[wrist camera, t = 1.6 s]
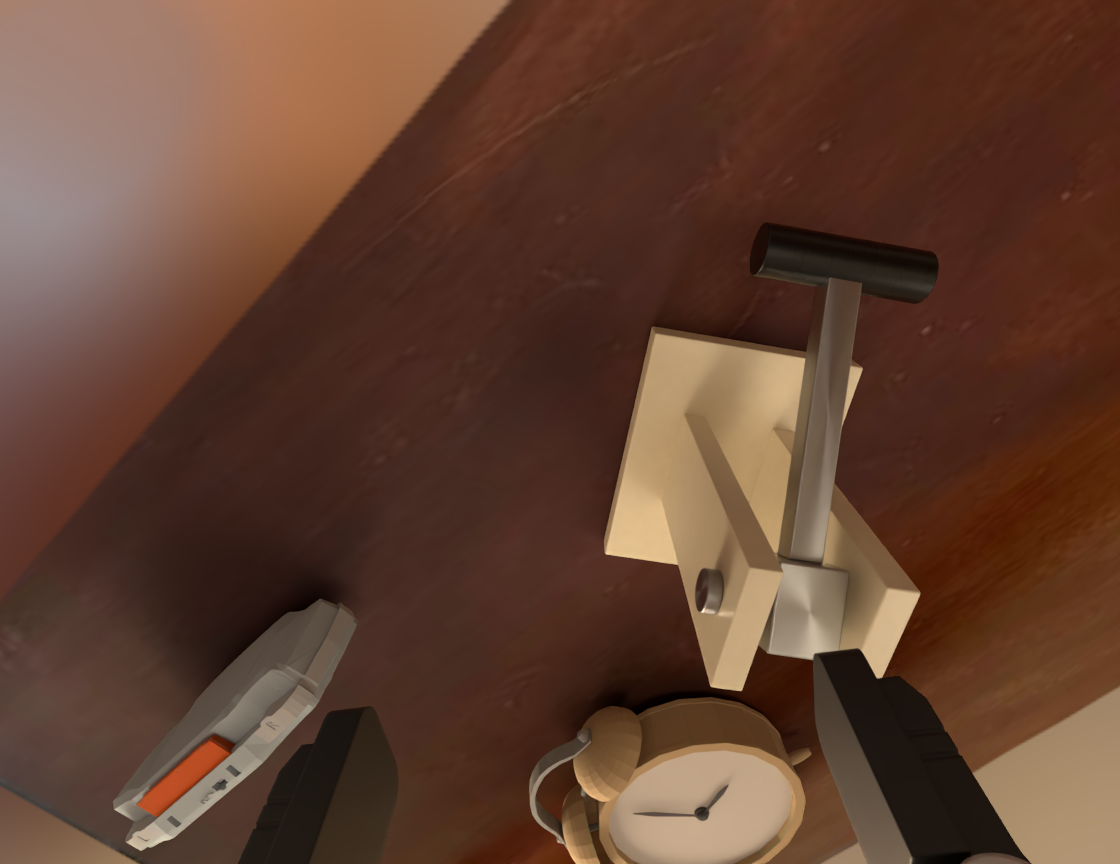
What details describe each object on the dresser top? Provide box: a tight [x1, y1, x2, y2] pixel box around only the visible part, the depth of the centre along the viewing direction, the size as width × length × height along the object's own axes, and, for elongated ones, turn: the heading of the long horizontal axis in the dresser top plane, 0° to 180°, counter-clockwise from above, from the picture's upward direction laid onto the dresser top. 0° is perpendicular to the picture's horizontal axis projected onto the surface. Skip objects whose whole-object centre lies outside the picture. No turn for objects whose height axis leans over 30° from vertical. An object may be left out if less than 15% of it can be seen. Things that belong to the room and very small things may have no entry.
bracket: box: [604, 326, 920, 691], centre depth 26 cm, size 11×9×13 cm
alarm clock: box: [530, 697, 812, 864], centre depth 38 cm, size 11×5×15 cm
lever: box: [750, 222, 939, 660], centre depth 22 cm, size 13×6×2 cm, turn 170°
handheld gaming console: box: [113, 599, 358, 851], centre depth 33 cm, size 14×3×8 cm, turn 134°
